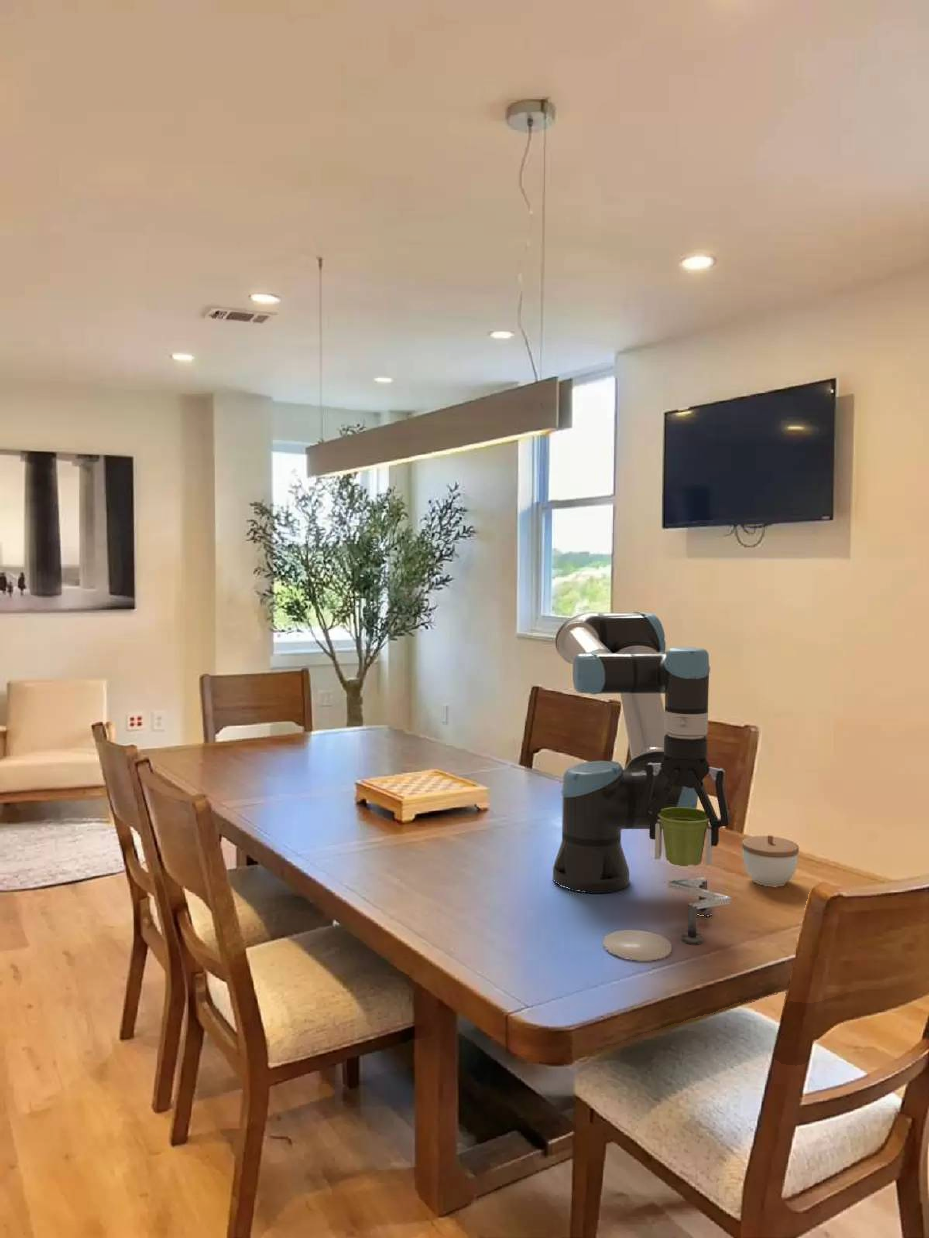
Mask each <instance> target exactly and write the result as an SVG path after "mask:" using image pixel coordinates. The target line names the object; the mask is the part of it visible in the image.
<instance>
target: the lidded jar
mask: <svg viewBox="0 0 929 1238" xmlns="http://www.w3.org/2000/svg"><path fill="white" fill-rule="evenodd" d="M741 847H742V853H741V855H742V862H743V866H744V869H745V871H746V874H748V877H750V878H751V879H752V880H754V881H755V882H756V883H759V884H761V885H764V886H763V887H766V886H782V887H784V886H785V885H786V884H785V883H788V882H789V881H790V880H791V879H792V878H793V876H795V873H796V871H797V868H798V863H799V862H798V861H799V851H800V847H799V845H798V844H797V843H795V842H794V841H792V840H789V839H787V838H783V837H777V836H774V835H772V834H768V835H757V836H756V835H755V836H749V837H746V838H744V839H742V841H741ZM754 881H753V882H754ZM755 882H754V883H755ZM756 883H755V884H756ZM784 884H785V885H784ZM761 885H760V886H761ZM783 885H784V886H783Z"/></svg>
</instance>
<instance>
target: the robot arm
mask: <svg viewBox="0 0 929 1238" xmlns="http://www.w3.org/2000/svg"><path fill="white" fill-rule="evenodd" d="M664 630H665V629H664V627H663V624H662V622H661V620H660V618H659V617H658V616H657V615H656V614H654V613H651V612H641V611H634V612H594V611H593V612H592V611H591V612H586V613H585V612H584V613H580V614H577V615H575V616H573V617H572V618H569V619H567V620H566V621H564V623H563V624H562V625H561V626H560V627H559V628H558V630H557V632H556V635H555V640H554V641H555V649H556V651H557V653H558V654H559V656H560V657H561V659H562V660H564V661H565V662H566V663H568V664H571V665H572V683H573V688H574V690H575V692H577V693H579V694H590V695H598V694H599V695H600V694H603V695H605V694H606V695H607V694H612V695H613V694H620V699H621V704H622V711H623V717H624V723H625V728H626V735H627V740H628V747H629V751H630V758H631V759H630V760H629V761H628V762H627V764H626V767H625V769H624V768H623V767H622V764H621V763H619V762H618V761H613V760H607V761H605V760H594V761H587V762H581V763H578V764H575V765H573V766H570V767H569V768H567V769H566V770H565V771H564V773H563V777H562V788H561V796H562V804H561V805H562V806H561V807H562V809H561V810H562V812H561V813H562V816H561V817H562V818H561V820H562V822H561V823H562V824H561V843H560V846H559V848H558V852H557V854H556V859H555V861H554V864H553V867H552V880H553V879H554V880H555V882H557V883H559V884H560V885H562V886H565V887H568V888H570V889H573V890H580V891H585V892H594V893H593V894H607V892H608V893H614V892H618V891H620V890H623V888H624V889H626V888H627V887H628V884H630V869H629V865H628V861H627V859H626V856H625V853H624V849H623V847H622V842H621V841H622V830H649V833H648V834H649V839H650V840H654V860H660V859H661V857H662V849H663V848H662V846H663V842H662V840H663V838H662V837H663V828H662V824H661V822H660V817H659V816H658V814H659V813H660V812H661V810H662V809H665V808H672V807H686V808H694V809H698V800H699V802H700V803H701V806H702V808H703V809H702V810H703V811H705V814H706V816H707V818H709V819H710V820H709V823H708V826H707V828H706V835H705V840H706V841H705V842H706V844H705V845H706V846H705V847H706V849H705V850H706V851H705V866H708V867H709V866H711V864H712V862H713V847H718V845H719V841H720V828H723V827H728V826H729V824H730V820H731V818H730V812H729V807H728V801H727V796H726V795H727V794H726V789H725V784H724V781H725V775H726V769H725V768H724V767H720V768H716V767H712V766H710V764H709V762H708V738H707V734H708V733H709V732H708V730H709V729H708V728H709V689H710V687H709V685H710V683H709V682H710V673H711V672H710V671H711V667H710V657H709V652H708V651H707V650H706V649H704V648H701V647H692V646H677V647H676V646H674V647H671V648H668V649H667V650H666V648H667V647H666V646H667V645H666V644H667V643H666V639H665V638H666V635H665V631H664ZM662 694H664V703H663V698H662ZM708 774H710V776H711V780H712V781H714V782H715V783H714V784H715V792H716V799H717V804H718V810H719V817H720V818H719V817H718V816H717V813H716V811H715V809H714V806H713V803H712V802H711V799H710V797H709V795H708V792H707V790H706V787H705V785H704V784H705V783H704V782H703V780H704V779H705V778H706V776H707V775H708ZM554 880H553V881H554ZM555 882H554V883H555ZM626 886H627V887H626ZM573 890H572V891H573ZM617 890H618V891H617ZM613 891H614V892H613ZM585 892H584V893H585ZM596 892H597V893H596Z"/></svg>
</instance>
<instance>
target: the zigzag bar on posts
mask: <svg viewBox="0 0 929 1238" xmlns="http://www.w3.org/2000/svg"><path fill="white" fill-rule="evenodd" d="M667 882H668V883H667V885H668V887H667V888H669V889H674V890H677V891H679V892H684V893H687V894H691V895H695V896H698V900H693V901H689V902H688V905H687V906H688V907H687V908H688V910H687V932H684V933H683V934H682V936H681V937H682V938H681V940H683V941H684V942H686V943H685V944H687V943H689V944H688V945H691V944H698V945H700V944H699V943H701V942H702V943H703V936H702V935H701V934H700V933H698V931H697V929H698V928H697V927H698V925H697V923H698V921H697V920H698V916H697V914H699V915H704V916H707V915H710V914H712V915H713V909H712V908H711V907H717V906H724V905H728V904H731V902H732V900H731V899H732V898H731V896H728V895H726V894H722V893H718V892H714V891H712V890H711V891H710V890H708V880H707V878H706V877H703V876H700V877H692V878H691V877H690V878H683V879H682V878H681V879H674V880H673V879H672V880H671V879H670V880H668V881H667ZM697 886H698V887H697ZM683 941H682V942H683ZM684 942H683V943H684ZM702 943H701V944H702Z"/></svg>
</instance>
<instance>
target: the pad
mask: <svg viewBox="0 0 929 1238" xmlns="http://www.w3.org/2000/svg"><path fill="white" fill-rule="evenodd" d="M603 944H604V945H603V948H604V947H605V948H606V949H607V950H608V951H610V952H611V953H612V954H614V955H617V956H619V957H621V958H620V959H622V958H628V959H630V960H629V961H632V960H637V961H636V962H653V961H652V960H656V961H658V960H657V959H660V960H662V959H661V958H663V959H665V958H667V957H668V956H670V954H671V953H672V943H671V942H670V941H669V940H668V939H667V938H666V937H664V936H662V935H660V934H657V933H655V932H650V931H647V930H646V931H645V930H640V929H639V930H638V929H626V930H625V929H624V930H623V929H622V930H618V931H613V932H611V933H608V934H607V935H606V936H605V937H604V938H603ZM605 948H604V949H605ZM670 952H671V953H670ZM612 954H611V955H612ZM614 955H613V956H614ZM666 956H667V957H666ZM619 957H618V958H619Z"/></svg>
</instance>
